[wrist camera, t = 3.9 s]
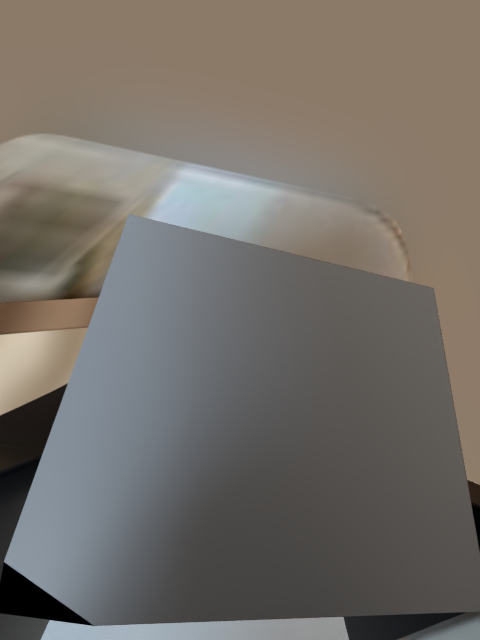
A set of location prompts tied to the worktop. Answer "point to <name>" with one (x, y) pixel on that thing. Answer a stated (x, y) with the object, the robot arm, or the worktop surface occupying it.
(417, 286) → the tall blue-gray box
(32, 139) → the worktop surface
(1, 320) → the shelf board
